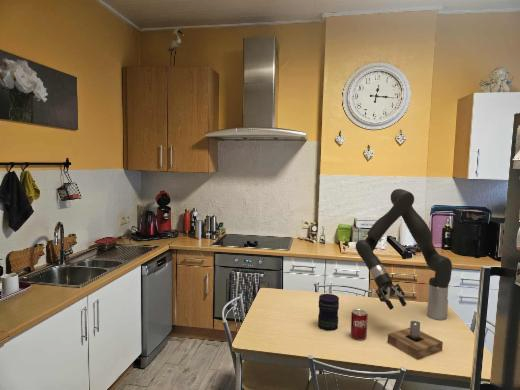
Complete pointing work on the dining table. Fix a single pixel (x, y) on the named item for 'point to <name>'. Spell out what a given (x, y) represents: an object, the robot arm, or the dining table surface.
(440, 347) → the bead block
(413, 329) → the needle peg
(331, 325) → the storage jar
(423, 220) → the robot arm
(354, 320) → the soda can
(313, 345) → the dining table surface
